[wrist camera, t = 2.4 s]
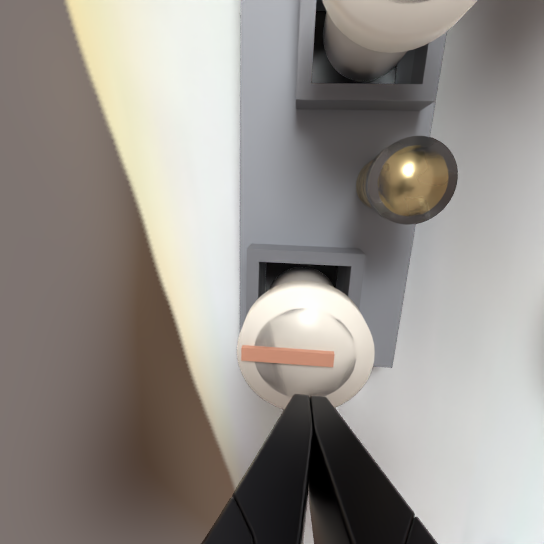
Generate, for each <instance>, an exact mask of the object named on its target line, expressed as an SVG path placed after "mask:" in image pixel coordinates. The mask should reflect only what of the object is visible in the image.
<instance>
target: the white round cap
mask: <svg viewBox="0 0 544 544" xmlns="http://www.w3.org/2000/svg"><path fill="white" fill-rule="evenodd" d="M322 1H323V4H324V6H325V8H326V11H327V12H326V18H325V24H324V31H323V40H324V47H325V52H326V54H327V57H328V59H329V61H330V63H331V64H332V66H333V67H334V68H335V69H336V70H337V71H338V72H339V73H340V74H341V75H343V76H345V77H346V78H349V79H351V80H356V81H369V80H374V79H376V78H379V77H381V76H383V75H385V74H386V73H388V72H389V71H390V70H391V69H393V68H394V67H395V66H396V65H397V63H398V62H399V61H400V60H401V59H402V57H403V56H404V55H405V54H406V52H407V51H409V50H413V49H416V48H419V47H421V46H424V45H426V44H428V43H430V42H432V41H434V40H435V39H437V38H438V37H440V36H441V35H443V34H444V33H446V32H447V31H448V30H449V29H450V28H451V27H452V26H454V25H455V24H456V23H457V22H458V21H459V20H460V19H461V17H462V16H463V15H464V14H465V13H466V12H467V11H468V10H469V9H470V8H471V7H472V6H473V5H474V4H475V3H476V2H477V1H478V0H322Z"/></svg>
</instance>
